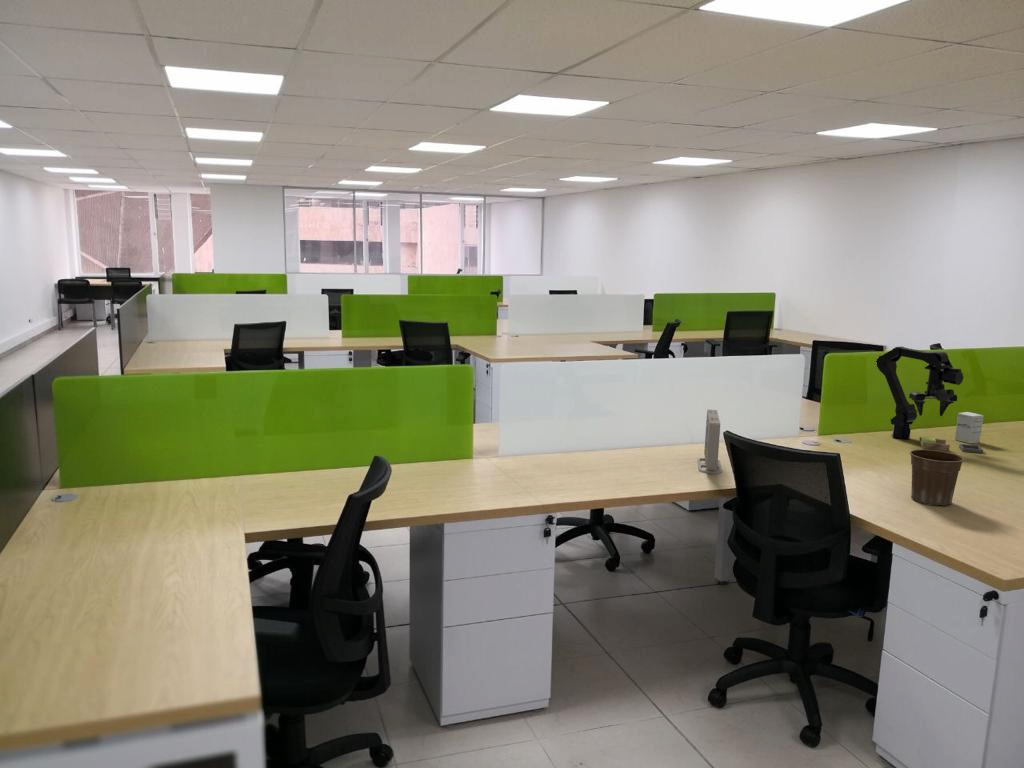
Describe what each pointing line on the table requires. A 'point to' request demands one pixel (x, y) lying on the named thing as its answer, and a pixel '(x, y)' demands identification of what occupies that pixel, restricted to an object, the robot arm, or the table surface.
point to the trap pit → (970, 448)
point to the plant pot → (934, 476)
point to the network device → (711, 444)
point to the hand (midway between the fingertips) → (930, 415)
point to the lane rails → (936, 445)
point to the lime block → (927, 440)
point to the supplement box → (969, 427)
